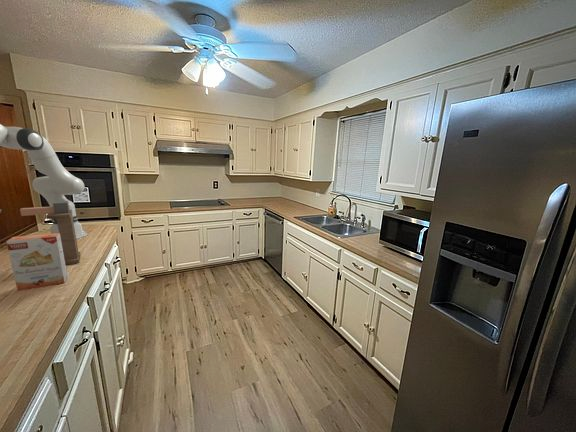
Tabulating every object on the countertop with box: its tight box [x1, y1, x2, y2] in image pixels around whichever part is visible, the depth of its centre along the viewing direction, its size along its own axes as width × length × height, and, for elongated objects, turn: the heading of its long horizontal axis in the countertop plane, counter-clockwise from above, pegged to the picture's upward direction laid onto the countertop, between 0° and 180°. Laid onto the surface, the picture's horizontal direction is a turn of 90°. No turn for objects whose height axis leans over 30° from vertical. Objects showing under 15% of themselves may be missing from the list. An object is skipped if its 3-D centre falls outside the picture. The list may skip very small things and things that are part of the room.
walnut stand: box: [45, 210, 82, 266], centre depth 120 cm, size 12×8×25 cm
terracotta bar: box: [19, 201, 70, 217], centre depth 113 cm, size 5×16×5 cm, turn 127°
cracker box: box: [5, 233, 69, 292], centre depth 97 cm, size 14×6×21 cm, turn 121°
